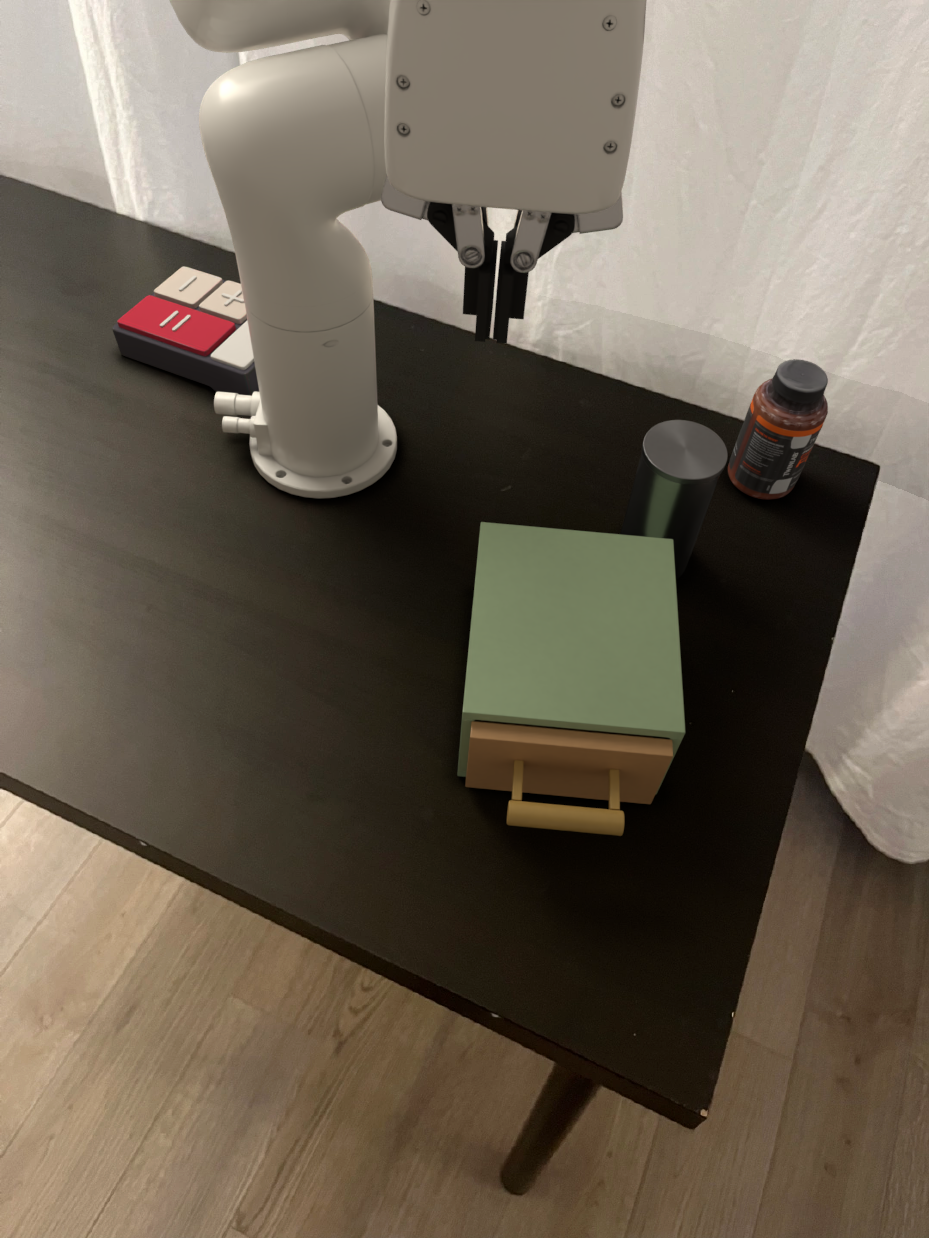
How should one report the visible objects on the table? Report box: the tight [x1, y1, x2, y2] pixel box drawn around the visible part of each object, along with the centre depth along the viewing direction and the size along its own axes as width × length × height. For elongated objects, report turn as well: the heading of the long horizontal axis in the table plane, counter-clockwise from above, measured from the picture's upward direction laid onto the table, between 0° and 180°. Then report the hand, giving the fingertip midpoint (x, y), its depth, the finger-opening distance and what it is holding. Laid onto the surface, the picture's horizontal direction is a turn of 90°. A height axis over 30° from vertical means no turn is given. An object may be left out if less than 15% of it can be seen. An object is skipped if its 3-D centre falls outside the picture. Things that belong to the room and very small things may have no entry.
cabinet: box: [456, 521, 686, 796], centre depth 66 cm, size 16×14×9 cm
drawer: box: [464, 720, 674, 837], centre depth 64 cm, size 19×12×7 cm, turn 175°
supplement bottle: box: [727, 358, 829, 501], centre depth 79 cm, size 6×6×11 cm
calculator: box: [111, 266, 259, 396], centre depth 89 cm, size 11×4×15 cm
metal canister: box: [619, 419, 728, 581], centre depth 72 cm, size 6×6×12 cm
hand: (492, 324), depth 48 cm, fingers closed
